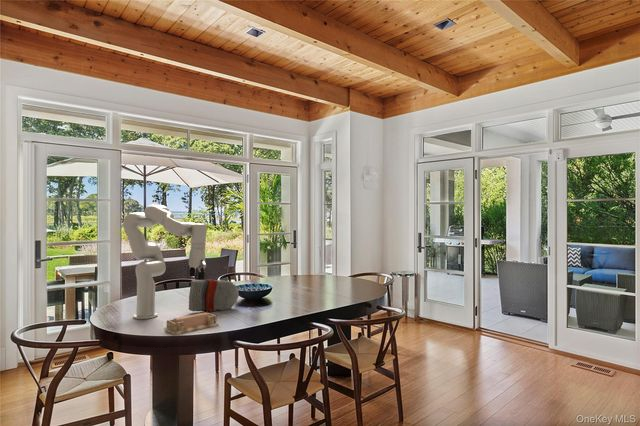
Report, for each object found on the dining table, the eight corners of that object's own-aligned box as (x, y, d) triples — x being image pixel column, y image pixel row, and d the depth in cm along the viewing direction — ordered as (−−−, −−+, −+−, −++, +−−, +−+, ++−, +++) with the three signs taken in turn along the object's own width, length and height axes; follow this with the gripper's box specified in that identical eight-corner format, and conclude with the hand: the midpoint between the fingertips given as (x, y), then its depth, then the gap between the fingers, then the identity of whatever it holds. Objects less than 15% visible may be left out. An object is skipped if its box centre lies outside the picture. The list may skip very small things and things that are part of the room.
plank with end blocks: (175, 334, 191) (176, 324, 191) (164, 329, 200) (164, 319, 200) (218, 325, 209) (218, 316, 209) (206, 321, 217) (206, 312, 217)
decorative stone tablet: (194, 280, 230) (241, 280, 248) (190, 278, 235) (236, 279, 253) (190, 313, 229) (237, 311, 246) (186, 311, 234) (233, 309, 252)
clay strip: (177, 329, 196) (177, 319, 196) (173, 328, 199) (173, 318, 199) (209, 323, 210) (209, 313, 210) (205, 321, 212) (205, 312, 212)
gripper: (184, 244, 215) (182, 275, 215) (199, 248, 203) (197, 281, 203) (196, 244, 221) (195, 274, 221) (212, 247, 209) (210, 279, 209)
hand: (196, 277), depth 212 cm, fingers open, 9 cm apart
